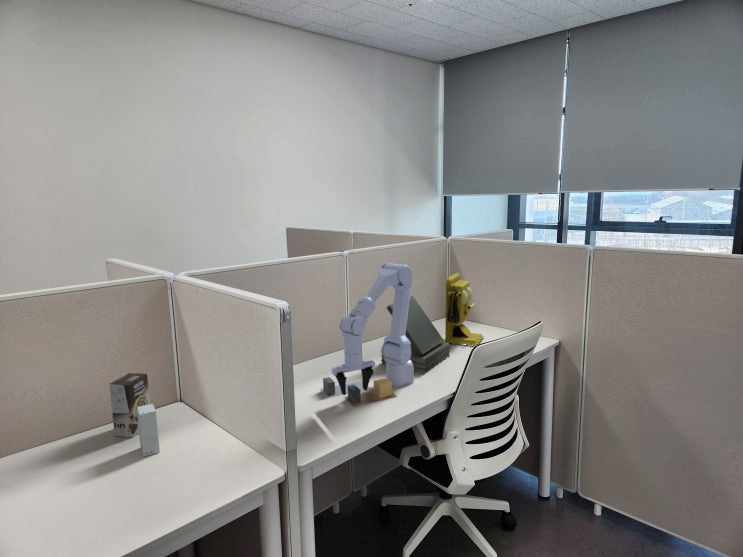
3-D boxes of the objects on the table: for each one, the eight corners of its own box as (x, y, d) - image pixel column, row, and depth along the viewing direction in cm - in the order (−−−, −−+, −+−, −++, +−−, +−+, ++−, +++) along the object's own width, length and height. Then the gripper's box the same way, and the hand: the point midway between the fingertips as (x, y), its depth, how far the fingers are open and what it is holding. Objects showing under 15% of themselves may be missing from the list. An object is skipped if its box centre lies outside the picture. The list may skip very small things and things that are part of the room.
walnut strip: (386, 390, 170) (386, 376, 169) (397, 399, 163) (397, 384, 162) (344, 399, 164) (343, 384, 163) (353, 409, 157) (353, 393, 156)
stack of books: (424, 375, 186) (424, 311, 181) (380, 365, 196) (380, 304, 192) (449, 357, 204) (450, 299, 200) (408, 349, 215) (408, 294, 211)
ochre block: (385, 390, 168) (385, 378, 167) (391, 395, 164) (391, 382, 163) (373, 393, 166) (373, 380, 165) (379, 398, 162) (379, 385, 161)
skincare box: (160, 452, 133) (156, 411, 130) (143, 457, 130) (138, 415, 128) (156, 442, 138) (152, 403, 136) (140, 447, 135) (135, 406, 133)
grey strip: (361, 383, 177) (361, 369, 176) (371, 391, 170) (370, 376, 169) (319, 391, 170) (319, 377, 169) (327, 400, 163) (327, 385, 162)
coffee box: (133, 438, 141) (127, 385, 138) (113, 436, 142) (107, 383, 139) (153, 423, 149) (148, 373, 147) (134, 421, 151) (128, 372, 148)
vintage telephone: (471, 353, 208) (473, 284, 202) (439, 349, 213) (440, 282, 208) (487, 333, 235) (489, 272, 230) (459, 330, 241) (460, 270, 236)
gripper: (368, 345, 164) (369, 383, 167) (327, 352, 158) (329, 391, 161) (377, 351, 158) (378, 390, 161) (335, 358, 152) (337, 399, 154)
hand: (354, 391), depth 160 cm, fingers open, 7 cm apart
